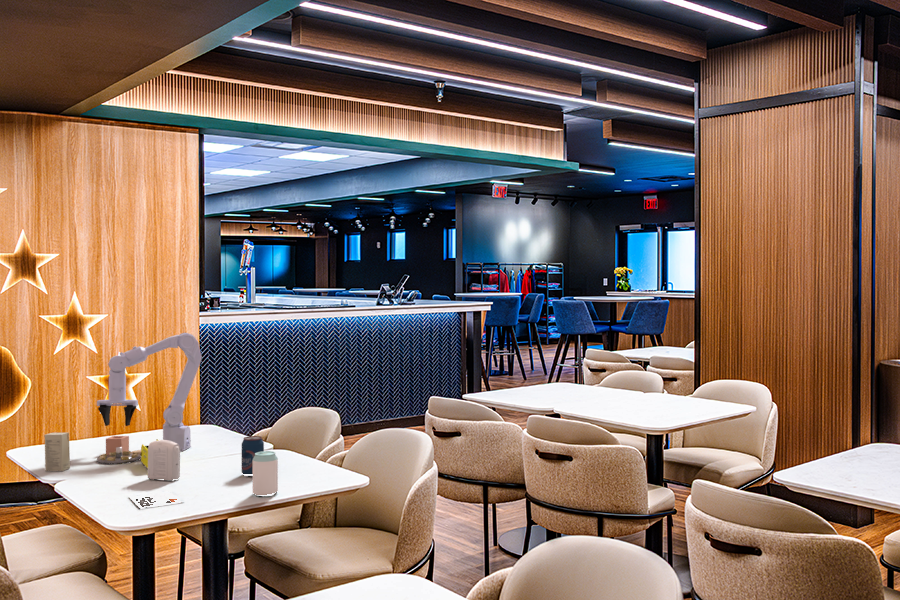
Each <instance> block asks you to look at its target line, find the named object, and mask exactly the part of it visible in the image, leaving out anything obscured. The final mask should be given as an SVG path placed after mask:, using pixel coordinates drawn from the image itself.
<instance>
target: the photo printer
mask: <svg viewBox="0 0 900 600" xmlns="http://www.w3.org/2000/svg"><path fill="white" fill-rule="evenodd" d="M147 446H148V468H147V479H148V478H150V479H149V480H154V479H164V480H173V479H178V478H179V477H181V473H180V471H181V469H180V468H181V465H180V464H181V451H180V446H179V445H178V444H177V443H175V442H173V441H169V440H163V439H158V441H156V440H154V441H151V442H149V444H148V445H147ZM179 479H180V478H179ZM164 480H163V481H164Z"/></svg>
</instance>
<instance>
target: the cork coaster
mask: <svg viewBox="0 0 900 600" xmlns="http://www.w3.org/2000/svg"><path fill="white" fill-rule="evenodd" d="M133 452H138V454H139V455H141V449H138V450H133V451H131V453H133Z"/></svg>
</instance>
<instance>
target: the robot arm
mask: <svg viewBox="0 0 900 600" xmlns="http://www.w3.org/2000/svg"><path fill="white" fill-rule="evenodd" d="M170 348H171V349H178V348H179V349H180V350H182V351H183V353H184V356H186V358H187V361H186V363H185V366H184V369H183V371H182V374H181V376H180V379H179V382H178V384H177V387H176V388H175V391H174V394H173V396H172V397H173V398H172V399H171V401H170V402H169V405H168V406H167V407H166V408H165V409H164V411H163V415H162V416H163V419H164V421H165V422H164V423H163V424H162V440H169V441H173V442H175V443H177V444H178V445H179V446H180V452H183V451H186V450H188V449H190V448H192V445H191V428H190V426H188V425H184V423H183V420H184V413H183V412H184V411H185V404H186V401H187V399H188V396H189V393H190V391H191V388H192V386H193V383H194V380H195V378H196V375H197V373H198V370H199V367H200V365H201V362H202V359H203V357H202V352H201V349H200V343H199V341H198V339H197V338H196V337H195V336H194V335H193V334H192V333H188V332H181V333H180V334H175V335H171V336H168V337H167V338H164V339H162V340H160V341H157V342H155V343H153V344H151V345H148V346H146V347H143V346H140V345H139V346H136V345H134V346H133V347H132V349H129V350H127V351H124V352H123V351H121V352H119V355H114V356H111V358H110V359H109V360H108V364H107V365H108V368H109V371H108V373H109V374H108V375H109V376H108V399H98V400H96V406H97V407H98V408H97V411H99V412H100V413H99V414H100V415H101V417H102V420H103V423H104V426H105V427H108V426H110V423H111V421H110V419H111V417H110V416H111V409H112V407H115V406H116V407H119V406H122V407H123V406H124V407H123V411H124V419H125V420H124V425H125V427H129V426H131V423H132V419H133V416H134V413H135V411H136V410H137V406H138V405H139V400H138V399H127V394H126V393H127V376H126V368H127V367H128V368H130V367H133V366H135V365H138V364H140V363H143V362H145V361H147V358H148V356H150V355H153V354H155V353H158V352H161V351H163V350H165V349H170Z"/></svg>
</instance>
